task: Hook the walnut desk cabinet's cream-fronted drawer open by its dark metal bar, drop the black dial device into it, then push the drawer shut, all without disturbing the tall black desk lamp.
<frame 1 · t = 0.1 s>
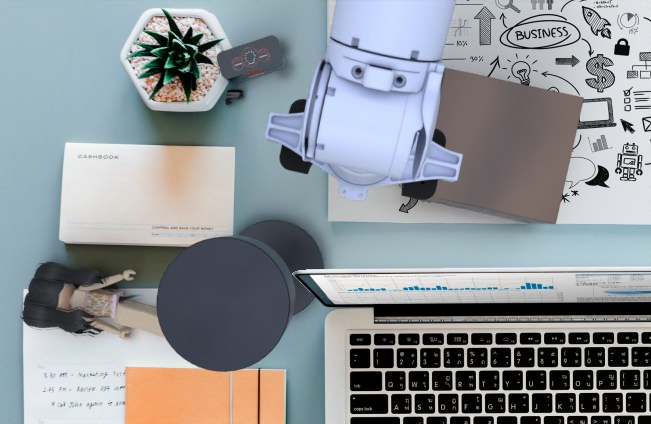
hand: (360, 158, 56), 10 cm above the table, tool pointing down, fingers open, 7 cm apart
toy figure: (110, 300, 67), on the table
desk lamp: (228, 300, 40), on the table
drawer: (452, 142, 62), point 4 cm above the table, slide at 0.0 cm
cabinet: (481, 154, 66), on the table
black dial device: (250, 74, 67), on the table
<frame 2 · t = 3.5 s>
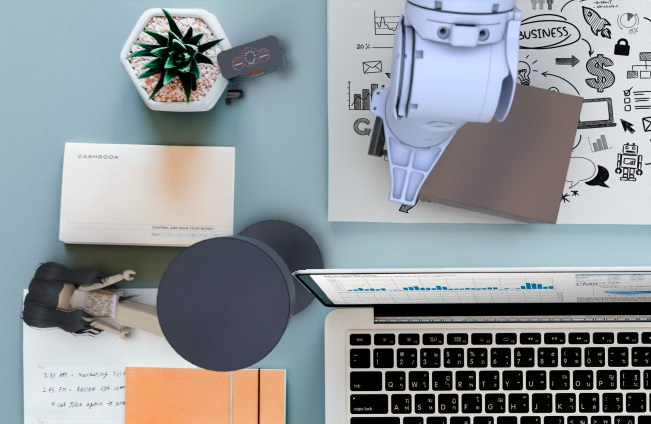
hand: (410, 128, 59), 7 cm above the table, tool pointing down, fingers closed, pressing on drawer
drawer: (452, 142, 62), point 4 cm above the table, slide at 0.0 cm, touching cabinet, gripper
everything else where it was.
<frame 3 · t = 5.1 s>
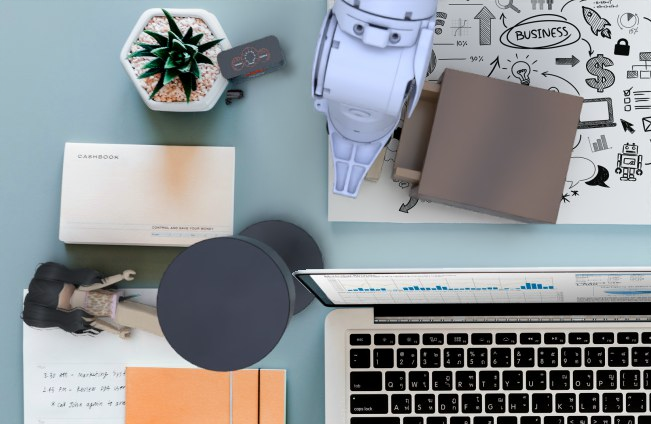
hand: (360, 127, 61), 5 cm above the table, tool pointing down, fingers closed, pressing on drawer
drawer: (416, 134, 62), point 4 cm above the table, slide at 3.6 cm, touching gripper
everything else where it was.
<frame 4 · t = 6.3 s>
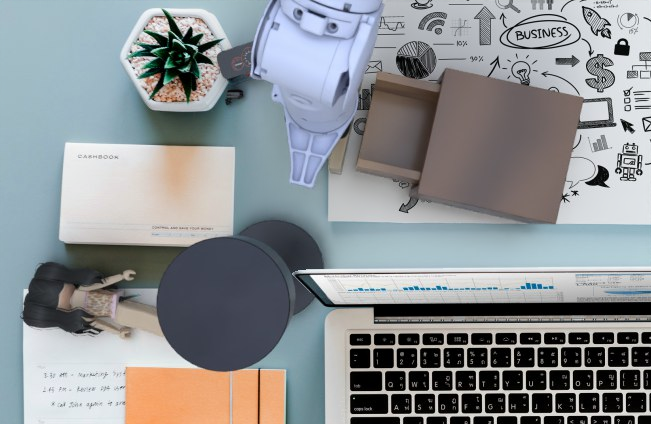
hand: (323, 119, 61), 5 cm above the table, tool pointing down, fingers closed, pressing on drawer
drawer: (379, 126, 62), point 4 cm above the table, slide at 7.2 cm, touching gripper
everything else where it was.
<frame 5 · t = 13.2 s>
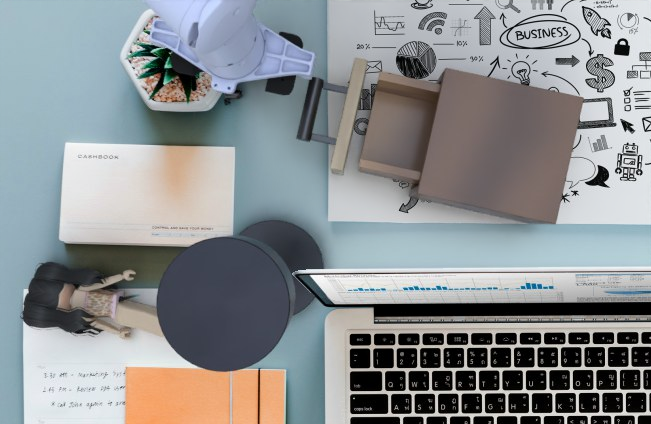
hand: (247, 70, 65), 1 cm above the table, tool pointing down, fingers closed on black dial device, 6 cm apart
drawer: (381, 126, 62), point 4 cm above the table, slide at 7.0 cm
black dial device: (248, 74, 67), on the table, touching gripper
everything else where it was.
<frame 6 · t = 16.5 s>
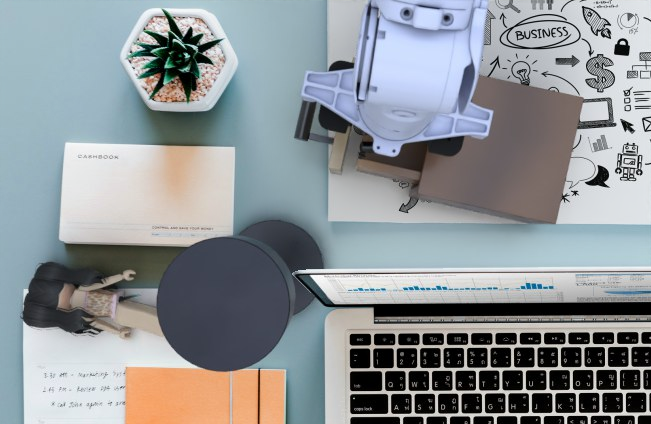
hand: (388, 122, 58), 8 cm above the table, tool pointing down, fingers closed on black dial device, 6 cm apart
drawer: (379, 126, 62), point 4 cm above the table, slide at 7.2 cm, touching black dial device
black dial device: (383, 123, 59), point 7 cm above the table, touching drawer, gripper
everything else where it was.
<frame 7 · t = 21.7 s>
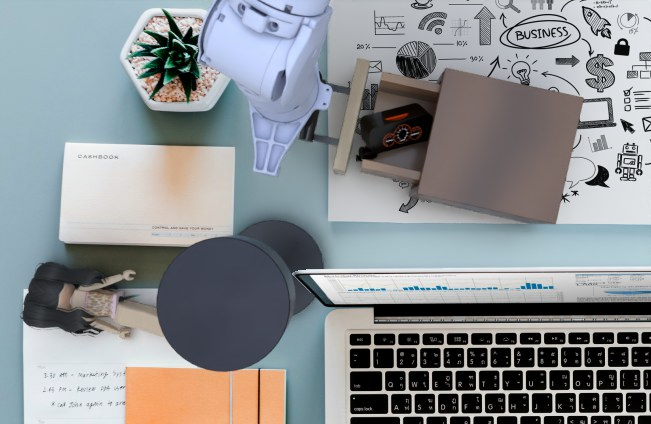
hand: (292, 107, 62), 4 cm above the table, tool pointing down, fingers closed, pressing on drawer
drawer: (383, 127, 62), point 4 cm above the table, slide at 6.7 cm, touching gripper, black dial device
black dial device: (381, 127, 63), point 3 cm above the table, touching drawer
everything else where it was.
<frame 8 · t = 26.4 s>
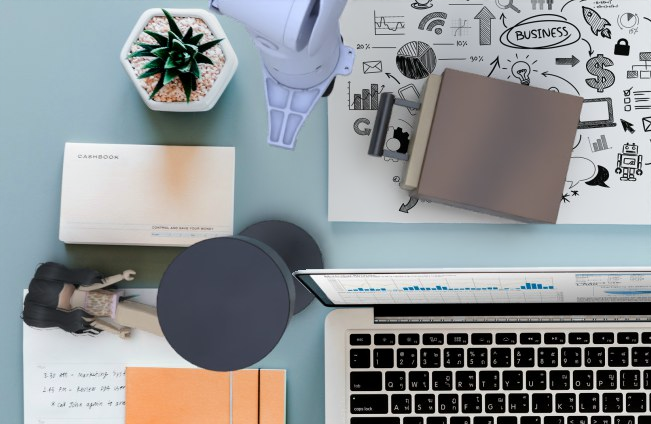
hand: (308, 77, 57), 9 cm above the table, tool pointing down, fingers closed
drawer: (452, 142, 62), point 4 cm above the table, slide at 0.0 cm, touching cabinet, black dial device
black dial device: (449, 142, 63), point 3 cm above the table, touching drawer
everything else where it was.
at the end: drawer pulled out 7.5 cm at the most during the clip, back to where it started at the end; black dial device inside the target area in the cabinet (3.1 cm from its centre), point 2.9 cm above the cabinet's base; drawer slide at 0.0 cm; desk lamp moved 0.0 cm from its start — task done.
